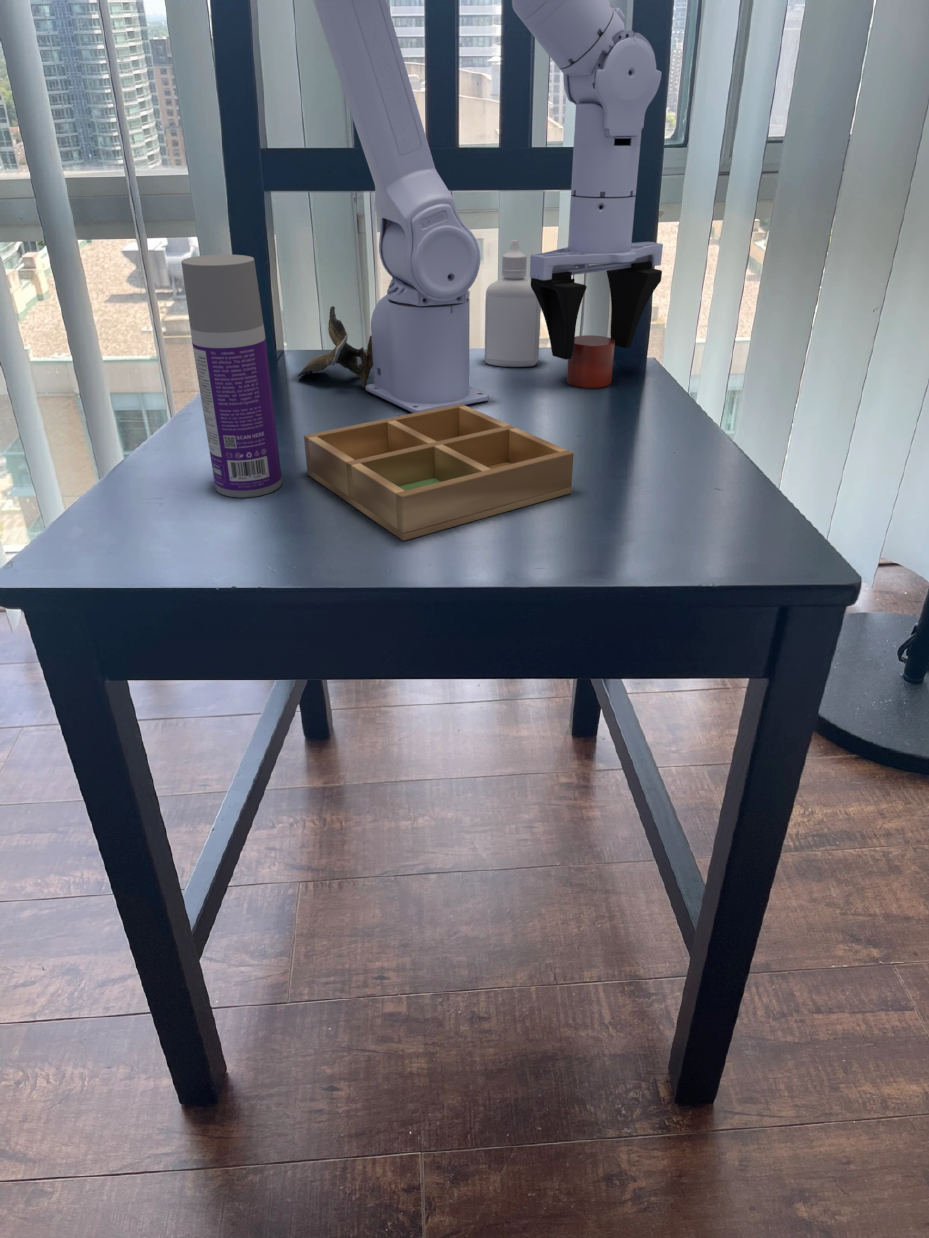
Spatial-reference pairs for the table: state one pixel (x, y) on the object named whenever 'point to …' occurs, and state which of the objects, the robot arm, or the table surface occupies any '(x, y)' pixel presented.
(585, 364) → the red cylinder
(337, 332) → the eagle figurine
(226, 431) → the container
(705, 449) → the table surface
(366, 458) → the grid
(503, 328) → the eye dropper bottle
